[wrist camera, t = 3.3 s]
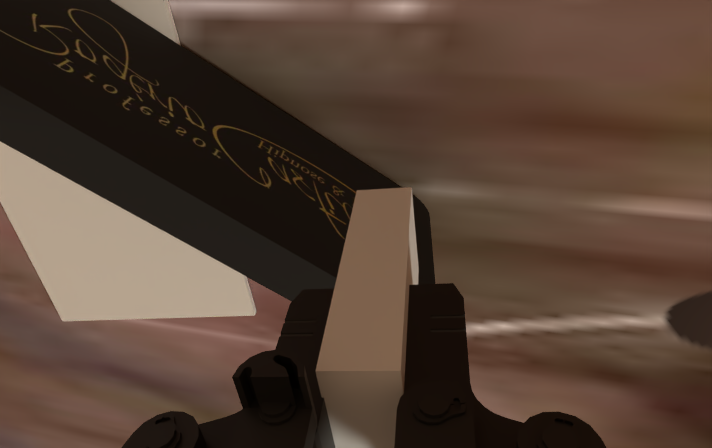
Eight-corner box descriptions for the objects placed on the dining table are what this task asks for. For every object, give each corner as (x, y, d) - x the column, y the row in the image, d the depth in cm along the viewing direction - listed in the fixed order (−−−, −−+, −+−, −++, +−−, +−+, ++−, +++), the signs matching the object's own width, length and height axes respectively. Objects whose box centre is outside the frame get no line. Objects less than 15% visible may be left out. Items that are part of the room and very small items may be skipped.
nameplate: (31, -5, 25) (-158, 55, 17) (43, -43, 24) (-149, 0, 16) (407, 229, 30) (409, 366, 22) (428, 204, 29) (440, 337, 21)
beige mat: (65, 317, 37) (62, 321, 36) (-181, -161, 23) (-190, -161, 23) (256, 311, 35) (254, 315, 34) (106, -216, 21) (101, -218, 21)
